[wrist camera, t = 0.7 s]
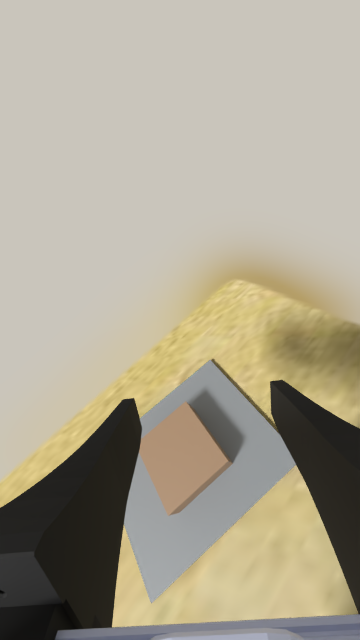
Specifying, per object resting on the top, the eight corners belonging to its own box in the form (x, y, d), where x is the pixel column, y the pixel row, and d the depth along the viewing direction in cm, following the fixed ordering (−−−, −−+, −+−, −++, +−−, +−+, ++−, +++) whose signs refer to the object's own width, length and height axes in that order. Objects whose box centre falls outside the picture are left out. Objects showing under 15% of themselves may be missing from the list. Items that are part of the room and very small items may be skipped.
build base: (301, 459, 22) (305, 455, 19) (153, 601, 20) (134, 619, 17) (210, 361, 31) (204, 349, 28) (101, 452, 29) (83, 449, 26)
